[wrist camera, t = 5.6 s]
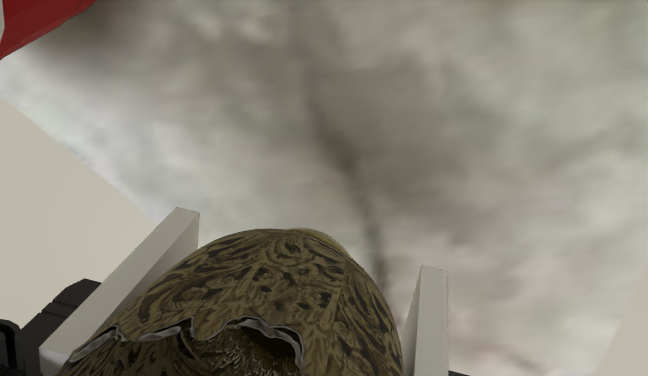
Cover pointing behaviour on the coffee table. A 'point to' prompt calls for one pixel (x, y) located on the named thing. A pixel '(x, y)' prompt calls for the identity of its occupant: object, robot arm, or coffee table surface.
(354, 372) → the ornate bell
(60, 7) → the plastic cup
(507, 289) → the coffee table surface
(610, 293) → the coffee table surface
